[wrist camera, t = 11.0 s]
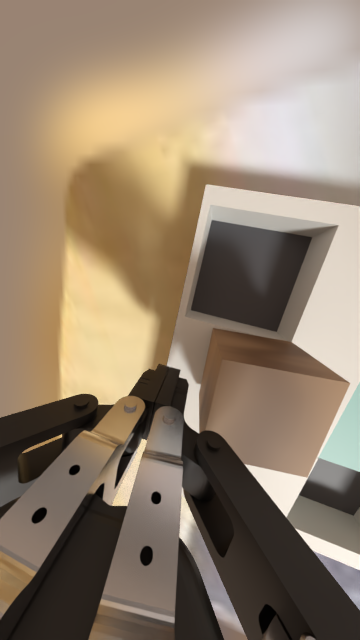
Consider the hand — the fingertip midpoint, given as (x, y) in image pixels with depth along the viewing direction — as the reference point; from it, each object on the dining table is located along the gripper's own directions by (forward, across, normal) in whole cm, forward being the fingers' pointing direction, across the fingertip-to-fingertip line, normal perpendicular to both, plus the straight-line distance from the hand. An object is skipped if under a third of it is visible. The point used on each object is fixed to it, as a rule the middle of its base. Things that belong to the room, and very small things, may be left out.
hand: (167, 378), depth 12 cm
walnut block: (+1, -5, -2) cm, 5 cm away
